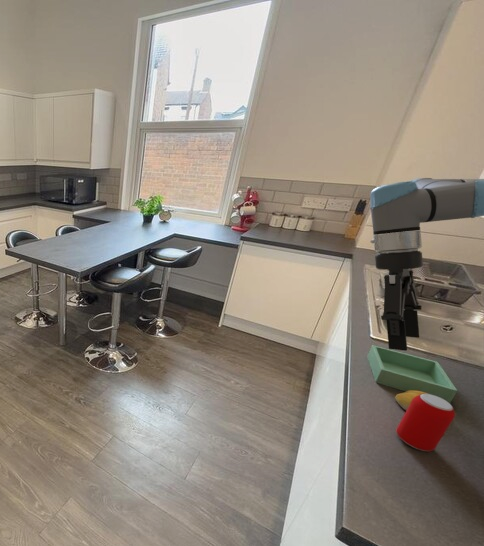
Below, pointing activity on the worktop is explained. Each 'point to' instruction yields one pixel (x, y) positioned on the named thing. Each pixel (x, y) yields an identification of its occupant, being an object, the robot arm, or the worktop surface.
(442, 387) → the bin
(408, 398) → the bread roll
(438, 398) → the beverage can
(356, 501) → the worktop surface
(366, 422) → the worktop surface
